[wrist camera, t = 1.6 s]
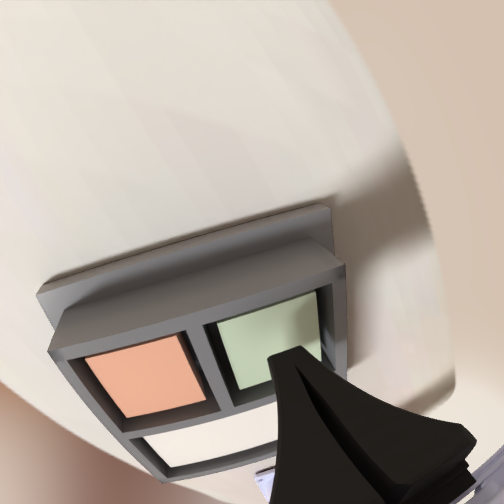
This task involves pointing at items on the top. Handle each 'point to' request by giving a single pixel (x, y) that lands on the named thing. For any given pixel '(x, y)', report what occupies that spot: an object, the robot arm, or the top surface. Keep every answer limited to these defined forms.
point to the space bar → (217, 437)
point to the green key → (269, 335)
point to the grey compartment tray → (197, 321)
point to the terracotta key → (149, 375)
